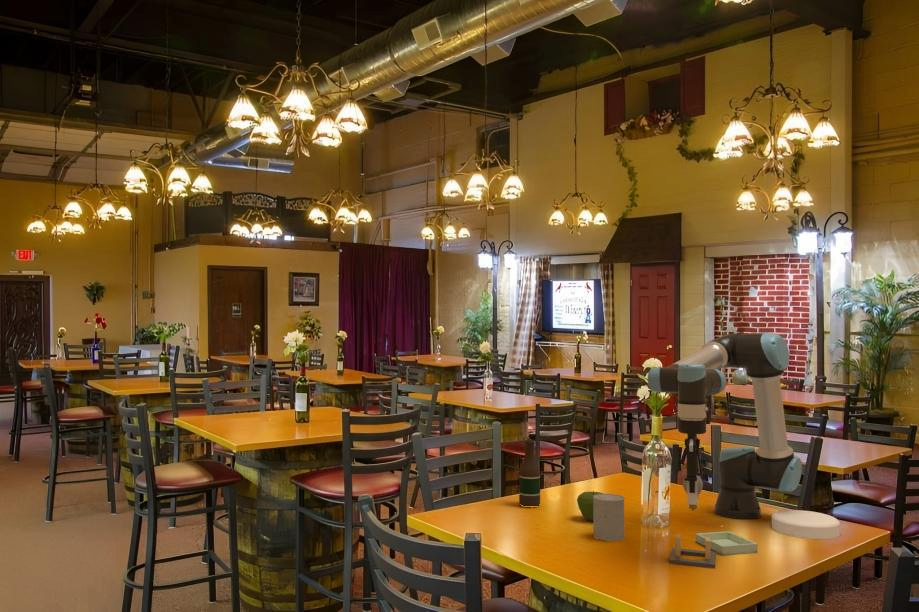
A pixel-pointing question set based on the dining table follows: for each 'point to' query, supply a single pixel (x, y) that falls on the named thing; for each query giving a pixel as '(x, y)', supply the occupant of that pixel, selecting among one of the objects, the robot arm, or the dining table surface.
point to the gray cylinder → (608, 517)
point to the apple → (586, 504)
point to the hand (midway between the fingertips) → (692, 501)
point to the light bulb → (699, 488)
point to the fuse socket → (678, 552)
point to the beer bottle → (529, 477)
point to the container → (805, 524)
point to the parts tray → (727, 543)
